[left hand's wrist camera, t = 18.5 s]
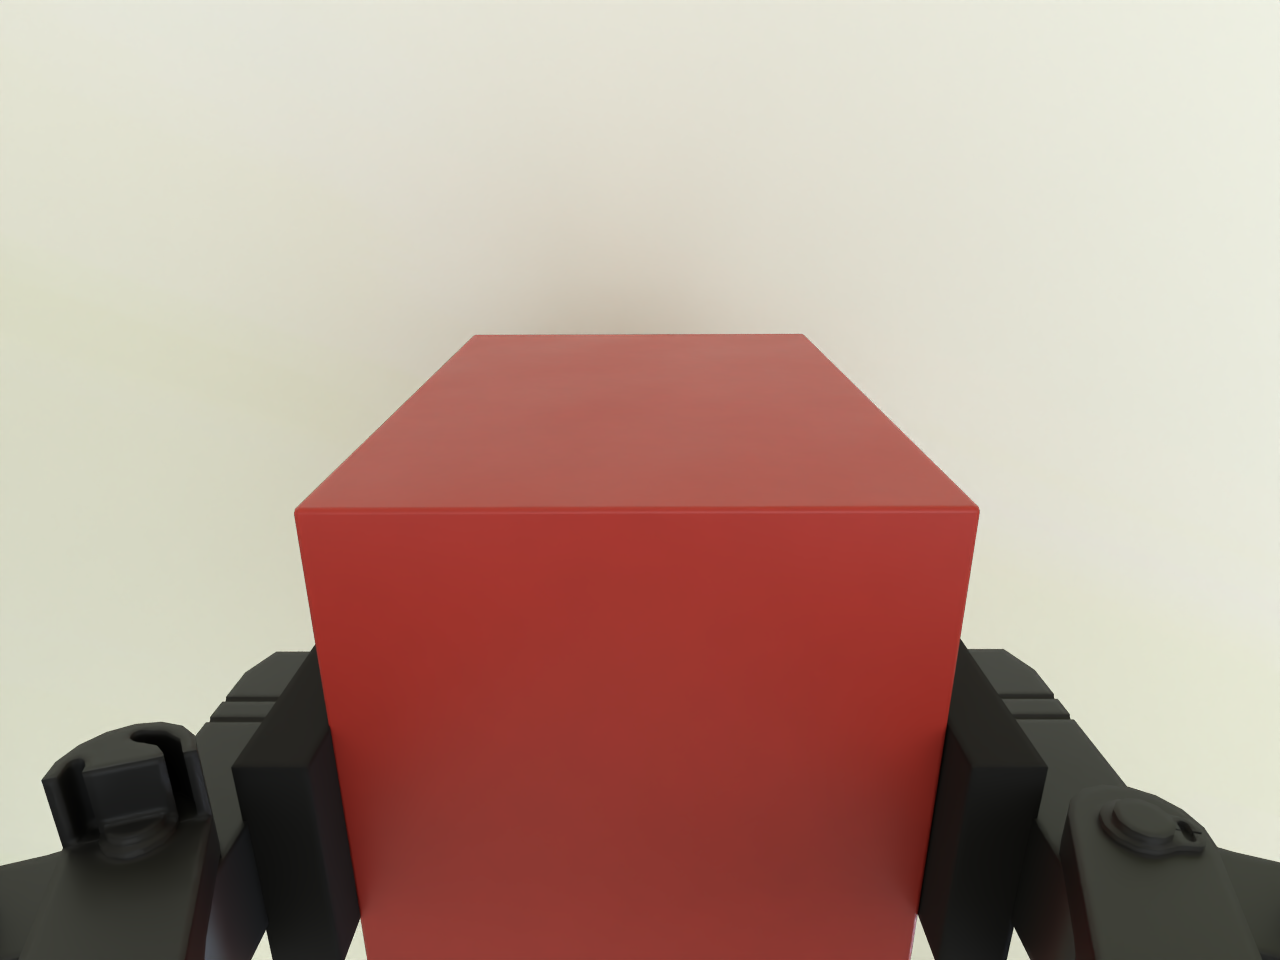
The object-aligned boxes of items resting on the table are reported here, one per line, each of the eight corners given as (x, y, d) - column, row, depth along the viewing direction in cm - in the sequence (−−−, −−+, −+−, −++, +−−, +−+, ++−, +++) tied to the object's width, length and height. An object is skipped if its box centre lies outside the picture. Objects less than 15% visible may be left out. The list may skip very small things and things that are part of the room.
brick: (782, 661, 19) (897, 1058, 10) (497, 662, 19) (381, 1059, 10) (803, 333, 16) (983, 507, 8) (473, 334, 16) (289, 509, 8)
